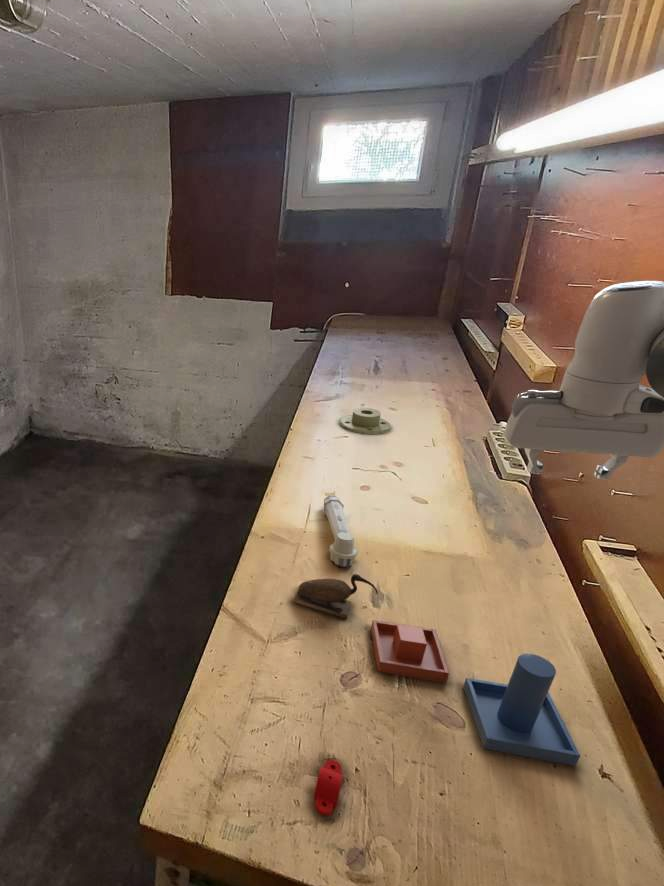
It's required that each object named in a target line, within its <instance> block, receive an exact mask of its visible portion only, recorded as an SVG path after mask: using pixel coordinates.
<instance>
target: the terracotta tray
mask: <svg viewBox="0 0 664 886" xmlns="http://www.w3.org/2000/svg"><path fill="white" fill-rule="evenodd" d="M397 624H398V623H394V622H388V621H381V620H375V619H373V620H372V621H371V626H370V632H371V633H370V634H371V638H372V644H373V651H374V656H375V662H376V668H377V672H381V673H387V674H391V675H398V676H404V677H410V678H416V679H421V680H427V681H433V682H439V683H443V684H444V683H445V684H446V683H447V682H448V678H449V675H450V672H449V669H448V665H447V662H446V658H445V655H444V652H443V649H442V646H441V643H440V640H439V637H438V634H437V630H436V629H433V628H430V627H429V628H428V627H421V626H420V627H421V628H422V629H423V632H424V636H425V639H426V643H427V646H426V650H425V653H424V657H423V661H422V662H417V661H411V660H405V659H399V658H396V655H395V650H394V645H393V638H394V634H395V630H396V625H397ZM400 624H401V623H400ZM401 625H403V624H401ZM406 625H407V626H410V625H408V624H406ZM413 626H414V627H416V626H415V625H413Z"/></svg>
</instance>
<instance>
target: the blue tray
mask: <svg viewBox="0 0 664 886" xmlns="http://www.w3.org/2000/svg"><path fill="white" fill-rule="evenodd" d="M507 686H508V683H507V684H506V683H500V682H494V681H488V680H483V679H476V678H471V677H465V680H464V684H463V687H462V689H463V691H464V694H465V698H466V700H467V703H468V706H469V709H470V713H471V714H472V717H473V720H474V724H475V726H476V730H477V733H478V735H479V740H480V742H481V744H482V748H483V749H486V750H490V751H491V750H492V751H495V752H502V753H506V754H512V755H516V756H521V757H522V756H523V757H527V758H531V759H532V758H533V759H538V760H543V761H547V762H554V763H558V764H564V765H567V766H568V765H569V766H574V767H576V766H577V764H578V762H579V760H580V758H581V754H580V752H579V750H578V748H577V746H576V744H575V742H574V740H573V738H572V736H571V734H570V732H569V730H568V728H567V726H566V723H565V722H564V720H563V718H562V716H561V714H560V711H559V710H558V708H557V706H556V704H555V702H554V700H553V698H552V696H551V694H550V692H549V691H548V693H547V696H546V698H545V700H544V703H543V705H542V708H541V710H540V712H539V715H538V717H537V719H536V722H535V724H534V727H533V729H532V730H531V731H530V732H528V733H519V732H516V731H513V730H511V729H509V728H508V727H506V726H505V725H504V724H503V723H502V722H501V721H500V720H499V718H498V714H497V713H498V710H499V707H500V705H501V702H502V699H503V697H504V694H505V691H506V689H507Z"/></svg>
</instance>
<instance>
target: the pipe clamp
mask: <svg viewBox="0 0 664 886" xmlns="http://www.w3.org/2000/svg"><path fill="white" fill-rule="evenodd" d="M343 777H344V775H343V774H342V765H341V764H340V762H338V761H337V760H334V759H327V760H326V761H325V762H324V766H320V768H319V773H318V776H317V780H316V785H315V790H314V793H313V798H314V799H315V802H314V808H315V810H316V811H317V812H318V813H319V815H322V816H325V817H326V816H327V817H328V816H330V815H332V813H333V810H334V808H337V806H338V800H339V796H340V792H341V787H342V783H343Z"/></svg>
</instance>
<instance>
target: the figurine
mask: <svg viewBox="0 0 664 886" xmlns="http://www.w3.org/2000/svg"><path fill="white" fill-rule="evenodd" d="M356 582H361V583H365V584H367V585H369V586H370V587H372V588H373V589H374V591H375V593H376V595H379V592H378V590H377V587H376V586H375V585H374V584H373V583H372V582H370V581H369V580H367V579H366V578H364V577H362V576H361V575H359V574H357V573H354V574H352V575H351V577H350V583H351V585H352V587H353V588H352V587H350V585H349V584H348V583H347V582H345V581H344V580H342V579H337V578H319V579H310V580H306V581H303V582H301V583H300V584H299V585H298V588H297V592H296V594H295V596H294V597H293V603H295V604H298V605H302V606H304V607H307V608H311V609H314V610H317V611H321V612H323V613H328V614H330V615H334V616H336V617H340V618H343V619H347V618H348V615H349V612H350V609H351V606H352V601H350V600H347V599H349V598H350V597H351V596H352V595H354V594H355V593H356V592H357V590H358V587H357V584H356Z"/></svg>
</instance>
